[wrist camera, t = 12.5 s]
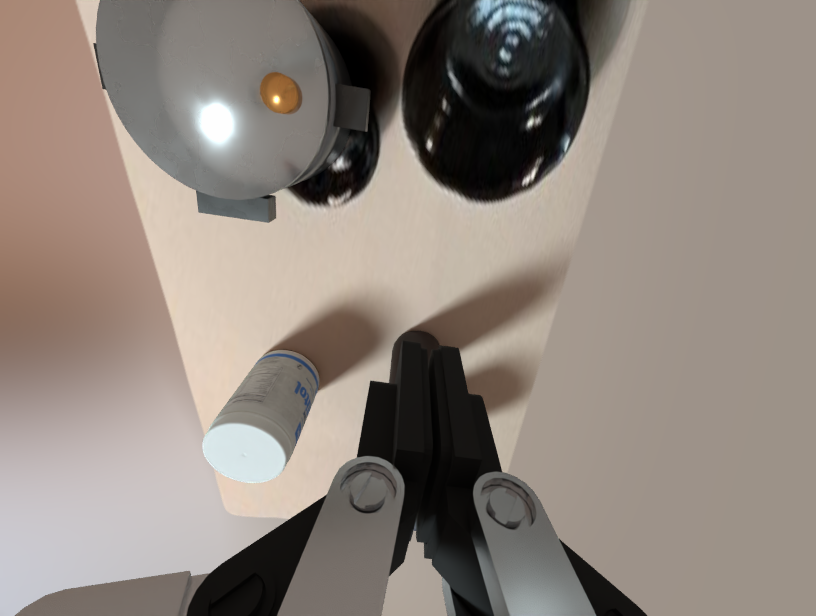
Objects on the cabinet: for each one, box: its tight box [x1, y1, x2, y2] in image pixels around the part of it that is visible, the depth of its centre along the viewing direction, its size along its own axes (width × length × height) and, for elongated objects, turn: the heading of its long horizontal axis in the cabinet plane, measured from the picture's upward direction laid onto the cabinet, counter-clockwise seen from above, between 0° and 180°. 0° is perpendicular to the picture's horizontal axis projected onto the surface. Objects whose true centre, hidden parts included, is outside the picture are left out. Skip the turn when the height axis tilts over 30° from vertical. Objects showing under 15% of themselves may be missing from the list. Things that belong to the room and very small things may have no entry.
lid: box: [96, 0, 331, 200], centre depth 25 cm, size 16×16×3 cm
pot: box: [93, 0, 371, 223], centre depth 31 cm, size 18×21×11 cm
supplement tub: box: [202, 350, 319, 483], centre depth 45 cm, size 10×10×15 cm
